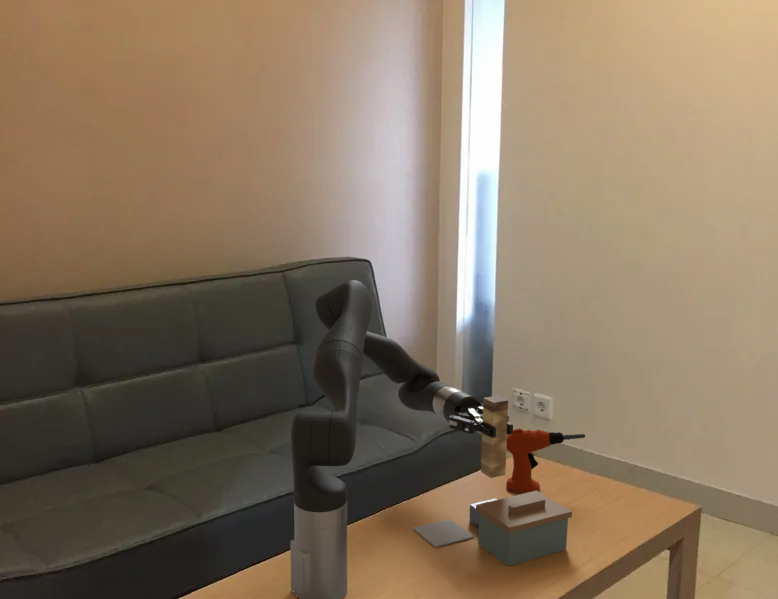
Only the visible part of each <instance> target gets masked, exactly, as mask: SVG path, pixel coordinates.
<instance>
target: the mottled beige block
mask: <svg viewBox="0 0 778 599" xmlns="http://www.w3.org/2000/svg"><path fill="white" fill-rule="evenodd" d="M482 400H483V401H482V406H483V423H484V422H486V423H488V424H490V425H492V426H494V427H495V428H496V437H495V438H491V437H489V436H487V435H485V434H483V433H481V454H480V456H481V459H480V460H481V461H480V473H482V474H483V475H485V476H487V477H488V478H490V479H494V478H497V477H498V478H499V477H502V476H506V469H507V467H506V466H507V448H506V446H507V435H508V434H507V421H508V415H509V400H508V399H507V398H504V397H502V396H500V395H492V396H487V397H483V399H482Z"/></svg>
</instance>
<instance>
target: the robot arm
mask: <svg viewBox="0 0 778 599" xmlns="http://www.w3.org/2000/svg"><path fill="white" fill-rule="evenodd" d="M314 303H315V306H314V307H315V308H314V309H315V311H316V315H317V317H318V319H319V320H320V322H321V324H322V325H323V326H324V327H325V328H326V329H327V330H328V331H327V333H326V334H325V336H323V338H322V340H321V341H320V343H319V344H318V347H317V348H316V353H315V356H314V357H315V358H314V362H313V368H312V376H313V380H314V383H315V384H316V387H317V388H318V389H319V390H320V392H321V394H322V395H323V396H324V397H325V398H326V400H327V401H329V402H330V404H331V405H332V406H333V408H334V409H335V411H321V410H320V411H319V410H317V411H315V410H314V411H313V410H311V411H310V410H307V411H304V410H303V411H299V412H297V413H296V414H295V416H294V417H293V420H292V424H291V431H290V442H291V443H290V444H291V455H292V457H291V459H292V470H293V471H292V472H293V473H292V474H293V475H292V476H293V506H294V507H293V511H294V512H293V514H294V516H293V517H294V518H293V521H294V522H293V524H294V527H293V529H294V537H293V538H294V539H292V540H290V587H291V588H290V589H292V590H293V591H294V593H295V594H296V595H297V596H296V595H295V594H294V593H293V594H294V595H295V596H296V598H297V597H298V598H299V599H343V598H344V597H346V595H347V592H348V488H347V486H346V483H345V482H344V481H343V480H342V479H340V478H337V477H335V476H333V475H331V474H328V473H326V472H324V471H322V470H321V469H320V468H318V467H342V466H346V465H348V464H349V463H351V461H352V459H353V458H354V454H355V449H356V439H357V416H358V415H357V414H358V413H357V410H358V408H357V407H358V397H359V396H358V395H359V389H360V383H361V377H362V370H363V361H364V356H365V357H366V358H367V359H369V361H371V362H372V363H373V364H374V365H376V367H378V369H379V370H380V371H381V372H382V373H383V374H384V375H385V376H386V377H387V378H388V379H389V380H390V381H391V382H393V383H395V384H401V386H400V387H399V388H398V393H397V394H398V396H397V397H398V399H399V402H401V404H402V405H404V406H405V407H406V408H408V409H411V410H413V411H419V412H431V413H433V414H435V415H437V416H438V417H440V418H441V419H442V420H443V421H445V422H446V423H448V424H449V427H448V428H450V429H452V430H455V431H459V432H464V433H466V434H471V435H472V434H475V432H476V433H477V434H480V435H482V433H483V434H485V435H487V436H489V437H491V438H495V437H496V428H495V427H494V426H492V425H490V424H488V423H486V422H484V423H483V404H482V403H481V402H480V400H479V399H478V398H477V397H476V396H474V395H471V394H470V393H467V392H465V391H464V390H461V389H459V388H455V387H453V386H450V385H448V384H446V383H444V382H441V380H440V376H439V375H438V373H437V372H436V371H435V370H433V369H431V367H427V366H426V365H424V364H422V363H419V362H418V361H416V360H415V359H414V358H413V357H412V356H411V355H410V354H409V353H408V352H407V351H406V350H405V349H404V348H403V347H402V346H401V345H400V344H399V343H398V342H396V341H395V340H393V339H391V338H389V337H387V336H384V335H381V334H377V333H373V332H371V331H368V327H369V325H370V321H371V318H372V312H373V302H372V297H371V295H370V291H369V290H368V288H367V287H366V286H365V284H363V283H362V282H361V281H359V280H357V279H350V280H346V281H343V282H342V283H340V284H338V285H337V286H335V287H332V288H331V289H329V290H327V291H325V292H323V293H322V294H320V295H319V296H318V297H317V298H316V300H315V302H314ZM509 419H510V415H509V414H508V421H507V435H511V434H513V430H514V425H513V424H512V423H511V422H509ZM292 590H291V591H292ZM293 591H292V592H293ZM298 598H297V599H298Z"/></svg>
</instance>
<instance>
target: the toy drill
mask: <svg viewBox="0 0 778 599" xmlns="http://www.w3.org/2000/svg"><path fill="white" fill-rule="evenodd" d="M585 437H586V435H585V433H578V434H563V433H562V432H553V431H552V432H550V431H545V430H541V429H536V430H531V429H527V430H524V429H522V428H515V429H513V434H511V435H508V434H507V446H506V450H507V451H509V453H510V454H512V459H513V469H512V473H511V477H509V478H507V481H506V490H508V491H509V492H512V493H521V494H524V493H528V492H533V491H538V492H540V490H541V485H540V483H539V482H538V481H536V480H534V479H532V470H533V469H535V468H536V467H537V466H538V465H539V462H538V461H537V460H536V459H535V455H534V454H533V453H534V452H537V451H538V450H539V451H540V450H543V449H545V448H548V447H551V446H553V445H557V444H562V443H563V442H564V441H565V440H568V441H569V440H575V439H585Z"/></svg>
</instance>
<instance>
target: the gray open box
mask: <svg viewBox="0 0 778 599" xmlns="http://www.w3.org/2000/svg"><path fill="white" fill-rule="evenodd" d="M495 500H499V499H497V498H491V499H488V500H483V501H478V502H475V503H470V504H469V519H468V520H469V522H468V523H469V524H471V525H472V526H475V527H476V529H478V530H479V512H477V511H476V505H478V504H482V503H486V502H490V501H495Z"/></svg>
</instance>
